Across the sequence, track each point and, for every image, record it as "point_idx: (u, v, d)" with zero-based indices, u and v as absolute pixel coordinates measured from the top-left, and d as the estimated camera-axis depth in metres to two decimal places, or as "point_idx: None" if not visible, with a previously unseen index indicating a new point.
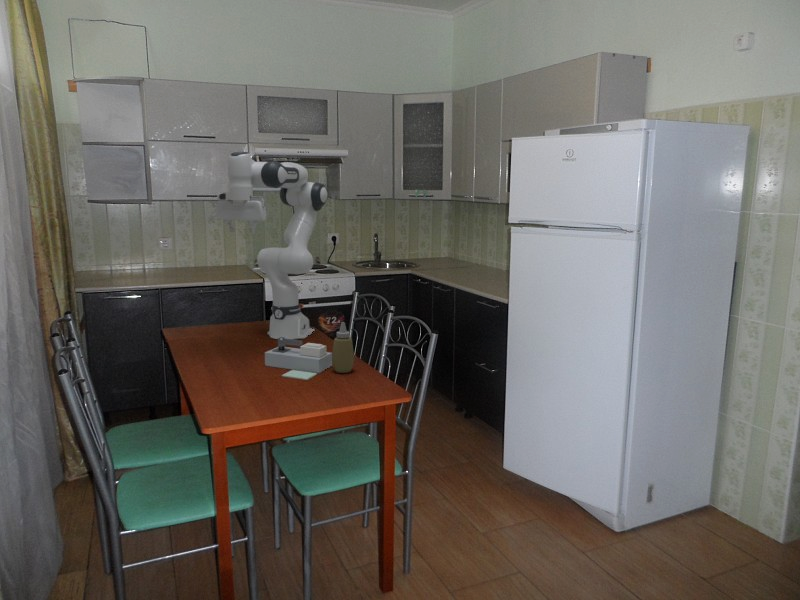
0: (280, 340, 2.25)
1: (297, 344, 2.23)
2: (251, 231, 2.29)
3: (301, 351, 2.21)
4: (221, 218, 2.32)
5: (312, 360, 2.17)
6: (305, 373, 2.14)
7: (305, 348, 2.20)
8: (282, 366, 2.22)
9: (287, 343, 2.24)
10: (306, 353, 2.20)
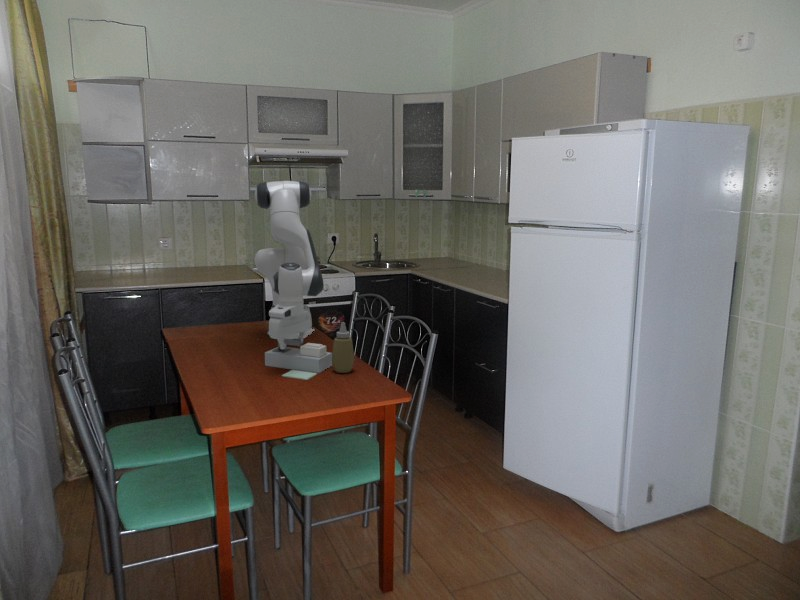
0: None
1: (297, 344, 2.23)
2: (302, 341, 2.25)
3: (301, 351, 2.21)
4: (281, 337, 2.12)
5: (312, 360, 2.17)
6: (305, 373, 2.14)
7: (305, 348, 2.20)
8: (282, 366, 2.22)
9: (287, 343, 2.24)
10: (306, 353, 2.20)
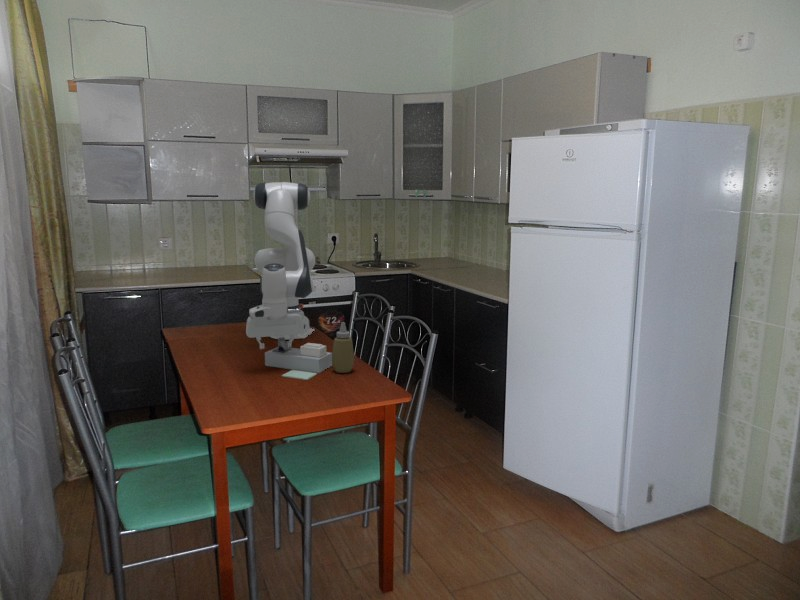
0: (278, 340, 2.25)
1: (283, 346, 2.19)
2: (290, 345, 2.19)
3: (301, 351, 2.21)
4: (253, 336, 2.13)
5: (312, 360, 2.17)
6: (305, 373, 2.14)
7: (305, 348, 2.20)
8: (282, 366, 2.22)
9: (281, 344, 2.23)
10: (306, 353, 2.20)
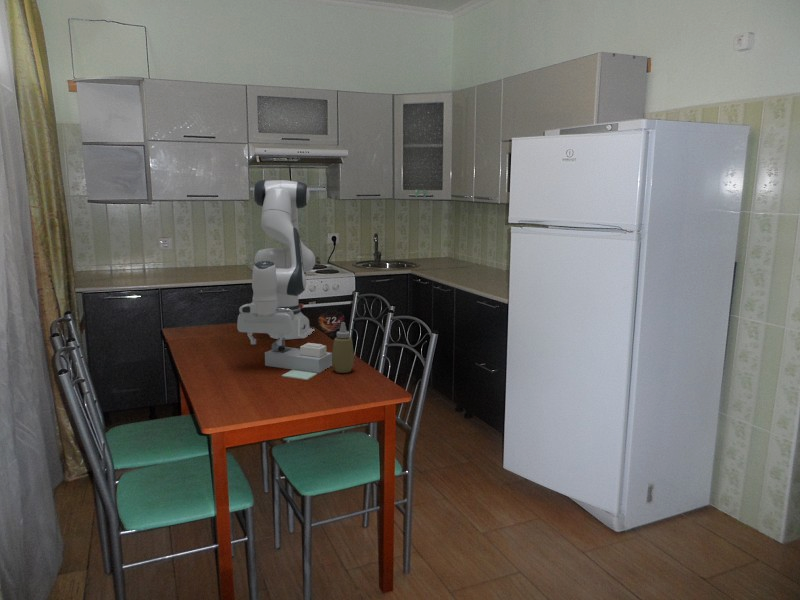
0: (278, 339, 2.26)
1: None
2: (278, 344, 2.18)
3: (301, 351, 2.21)
4: (243, 331, 2.18)
5: (312, 360, 2.17)
6: (305, 373, 2.14)
7: (305, 348, 2.20)
8: (282, 366, 2.22)
9: None
10: (306, 353, 2.20)
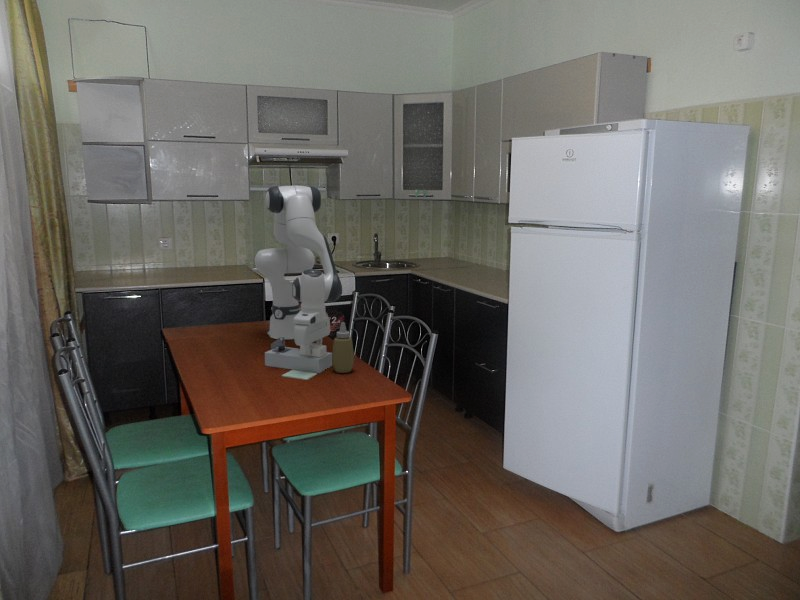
0: (278, 339, 2.26)
1: None
2: None
3: (301, 351, 2.21)
4: (306, 344, 2.13)
5: (312, 360, 2.17)
6: (305, 373, 2.14)
7: None
8: (282, 366, 2.22)
9: None
10: None
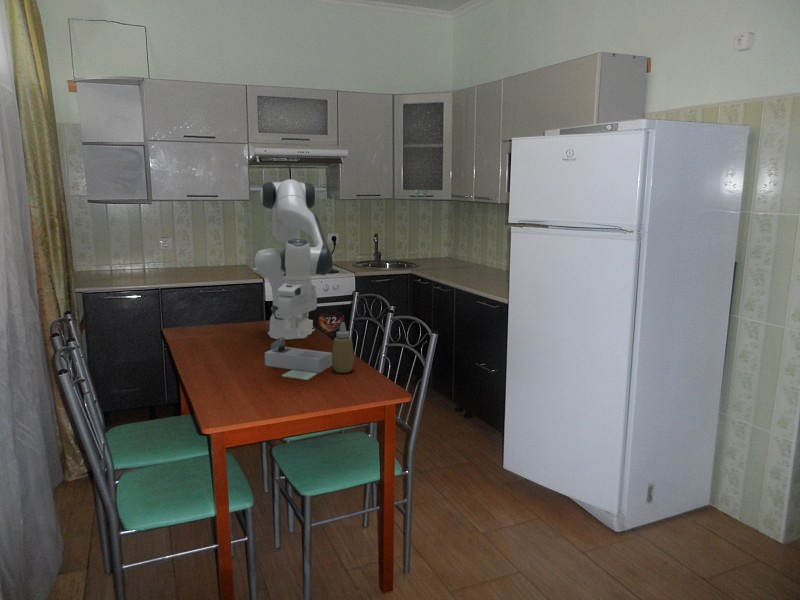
0: (278, 339, 2.26)
1: None
2: None
3: (286, 325, 2.09)
4: (291, 317, 2.02)
5: (312, 360, 2.17)
6: (305, 373, 2.14)
7: None
8: (282, 366, 2.22)
9: None
10: None
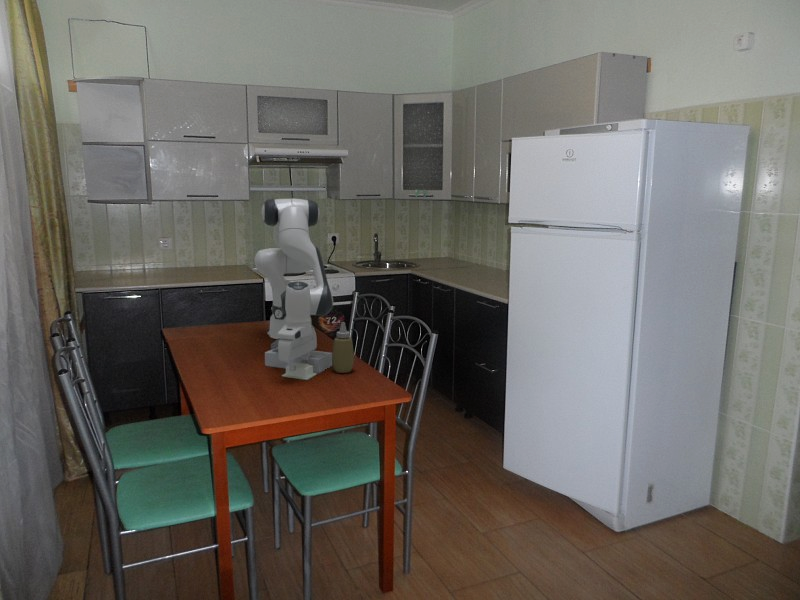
0: (278, 339, 2.26)
1: None
2: (307, 363, 2.16)
3: (287, 371, 2.12)
4: (291, 359, 2.04)
5: (312, 360, 2.17)
6: None
7: None
8: (282, 366, 2.22)
9: None
10: (292, 373, 2.12)
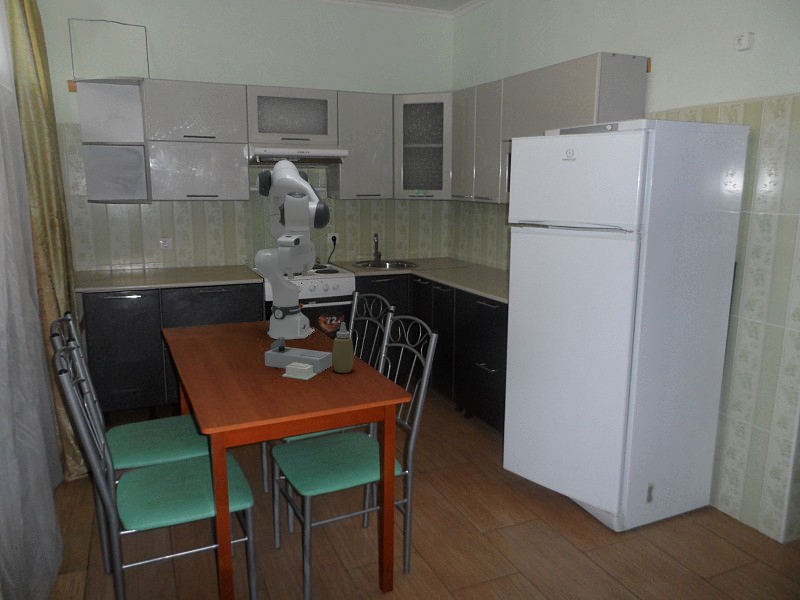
0: (278, 339, 2.26)
1: None
2: (307, 274, 2.22)
3: (287, 371, 2.12)
4: (290, 266, 2.09)
5: (312, 360, 2.17)
6: None
7: (291, 368, 2.11)
8: (282, 366, 2.22)
9: None
10: (292, 373, 2.12)
